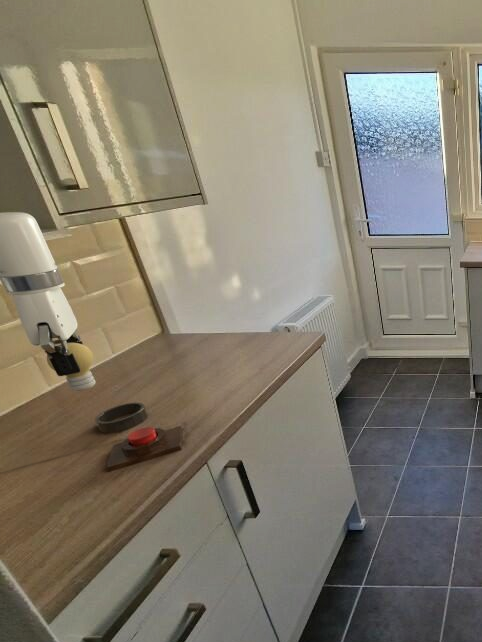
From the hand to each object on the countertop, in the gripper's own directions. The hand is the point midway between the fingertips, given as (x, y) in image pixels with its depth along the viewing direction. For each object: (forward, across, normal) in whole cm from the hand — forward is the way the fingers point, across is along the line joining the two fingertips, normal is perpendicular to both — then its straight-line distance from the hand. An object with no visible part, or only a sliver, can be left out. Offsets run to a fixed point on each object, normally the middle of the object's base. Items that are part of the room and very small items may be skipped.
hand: (74, 366), depth 84 cm
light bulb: (+5, 0, 0) cm, 5 cm away
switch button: (+17, +7, +7) cm, 20 cm away
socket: (+20, -7, +2) cm, 21 cm away
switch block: (+20, +7, +7) cm, 22 cm away
